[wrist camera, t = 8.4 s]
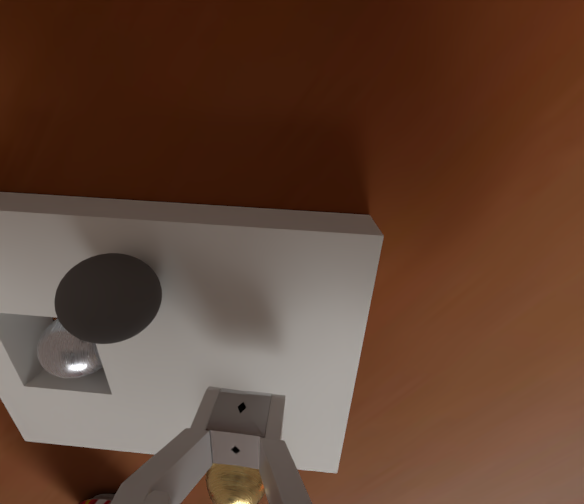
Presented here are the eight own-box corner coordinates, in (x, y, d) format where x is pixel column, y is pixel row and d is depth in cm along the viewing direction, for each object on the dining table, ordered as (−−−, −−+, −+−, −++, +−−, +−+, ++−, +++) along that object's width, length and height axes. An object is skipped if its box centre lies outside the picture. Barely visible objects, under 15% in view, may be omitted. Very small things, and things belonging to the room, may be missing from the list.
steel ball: (60, 297, 14) (123, 297, 14) (77, 344, 16) (135, 344, 16) (4, 341, 11) (85, 340, 12) (32, 394, 13) (104, 393, 13)
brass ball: (275, 422, 14) (265, 495, 11) (274, 458, 15) (265, 532, 12) (215, 416, 14) (192, 487, 11) (219, 452, 15) (199, 524, 12)
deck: (369, 214, 12) (383, 235, 9) (333, 428, 17) (337, 473, 15) (-33, 189, 12) (-111, 203, 10) (61, 401, 18) (25, 441, 16)
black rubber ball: (171, 242, 10) (117, 285, 7) (180, 310, 11) (138, 369, 8) (91, 237, 10) (9, 277, 7) (109, 304, 11) (45, 360, 9)
